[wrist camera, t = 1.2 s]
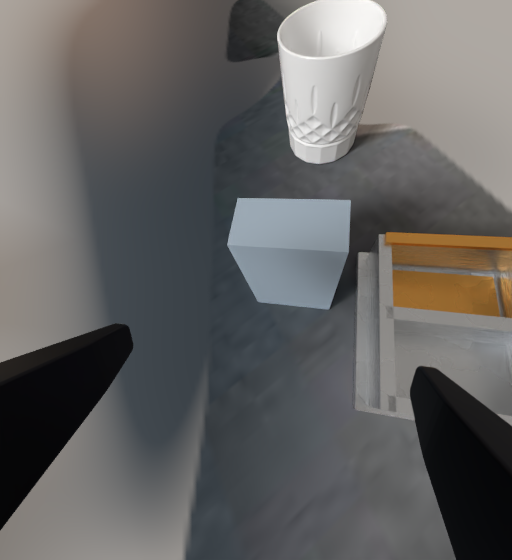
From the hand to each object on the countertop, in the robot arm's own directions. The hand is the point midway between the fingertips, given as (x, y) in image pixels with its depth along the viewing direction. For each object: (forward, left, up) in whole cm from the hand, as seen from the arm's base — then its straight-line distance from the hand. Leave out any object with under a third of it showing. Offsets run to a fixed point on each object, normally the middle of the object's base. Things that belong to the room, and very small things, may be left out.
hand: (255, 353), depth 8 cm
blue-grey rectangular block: (+6, -2, -13) cm, 15 cm away
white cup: (+22, -9, -13) cm, 28 cm away
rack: (0, -11, -13) cm, 17 cm away
